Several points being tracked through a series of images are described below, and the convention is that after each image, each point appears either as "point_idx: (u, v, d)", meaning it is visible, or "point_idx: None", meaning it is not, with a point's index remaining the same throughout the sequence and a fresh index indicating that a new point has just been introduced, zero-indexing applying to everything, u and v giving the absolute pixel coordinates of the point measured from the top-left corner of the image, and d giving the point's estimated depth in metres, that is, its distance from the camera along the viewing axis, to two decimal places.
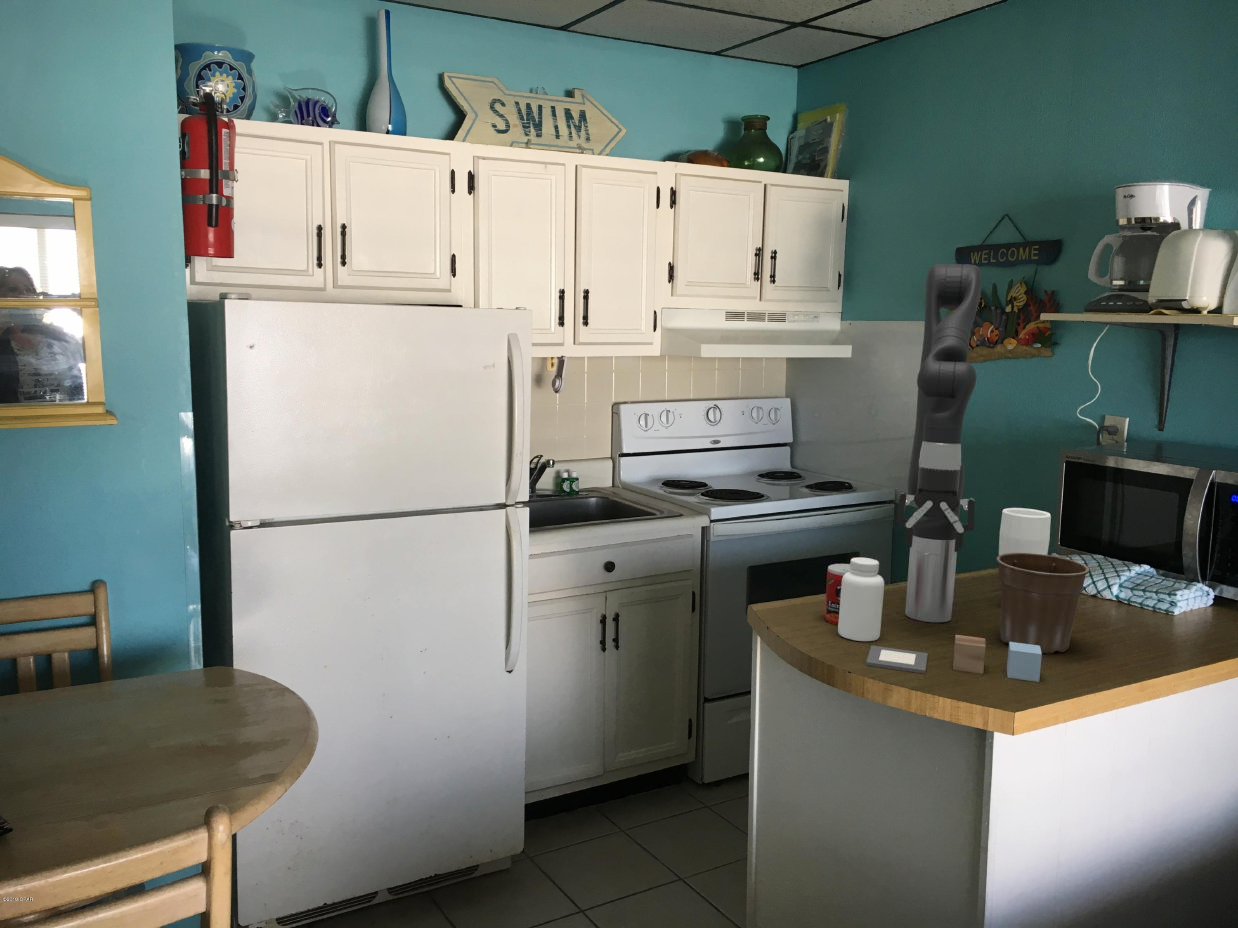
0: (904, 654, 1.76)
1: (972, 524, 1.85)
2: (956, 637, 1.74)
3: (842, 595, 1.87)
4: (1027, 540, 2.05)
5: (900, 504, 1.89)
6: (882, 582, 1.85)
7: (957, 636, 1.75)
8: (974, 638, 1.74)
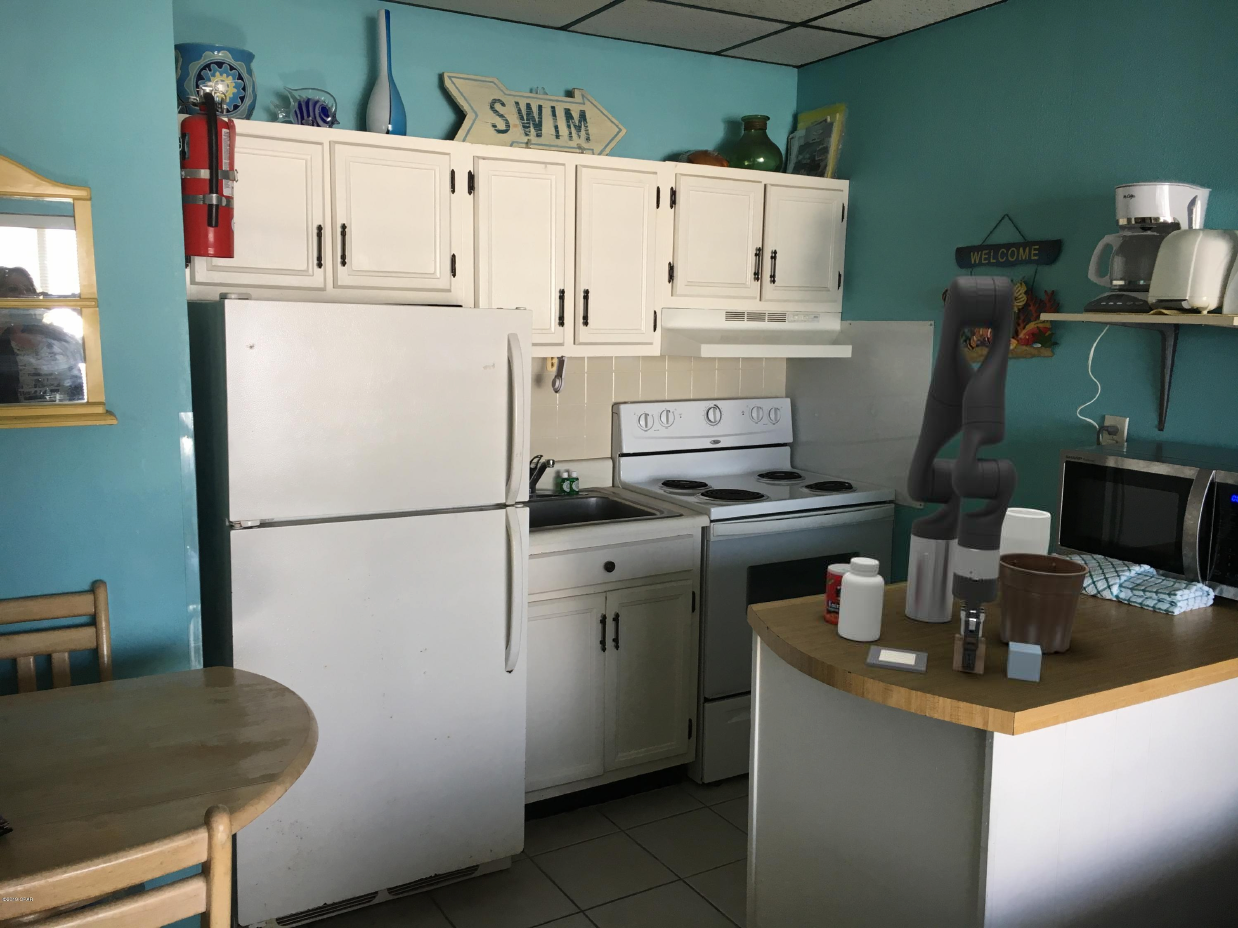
0: (904, 654, 1.76)
1: None
2: (956, 636, 1.74)
3: (842, 595, 1.87)
4: (1027, 540, 2.05)
5: (979, 631, 1.66)
6: (882, 582, 1.85)
7: (957, 635, 1.75)
8: None
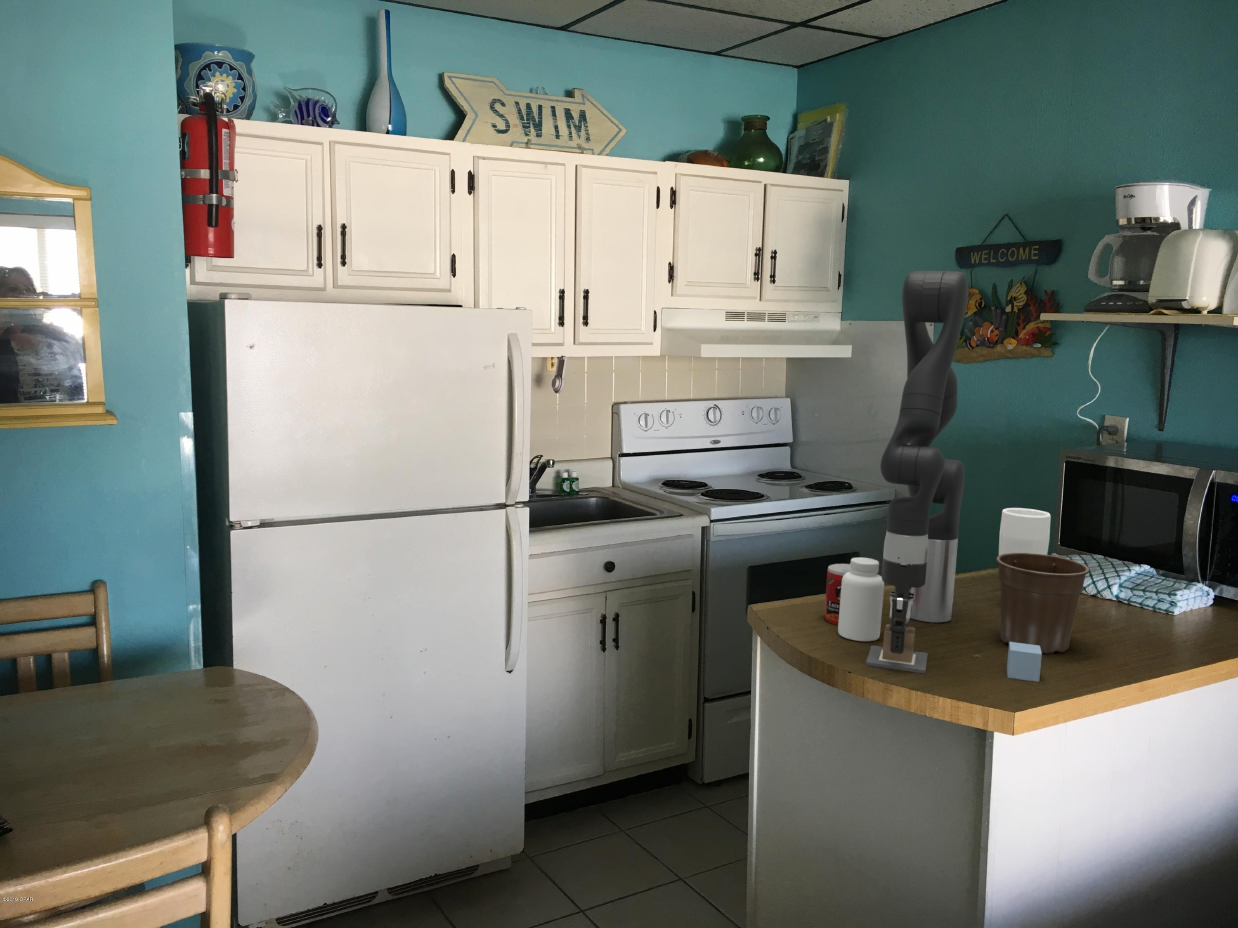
0: None
1: None
2: (886, 626, 1.76)
3: (842, 595, 1.87)
4: (1027, 540, 2.05)
5: (906, 611, 1.67)
6: (882, 582, 1.85)
7: (888, 625, 1.77)
8: None
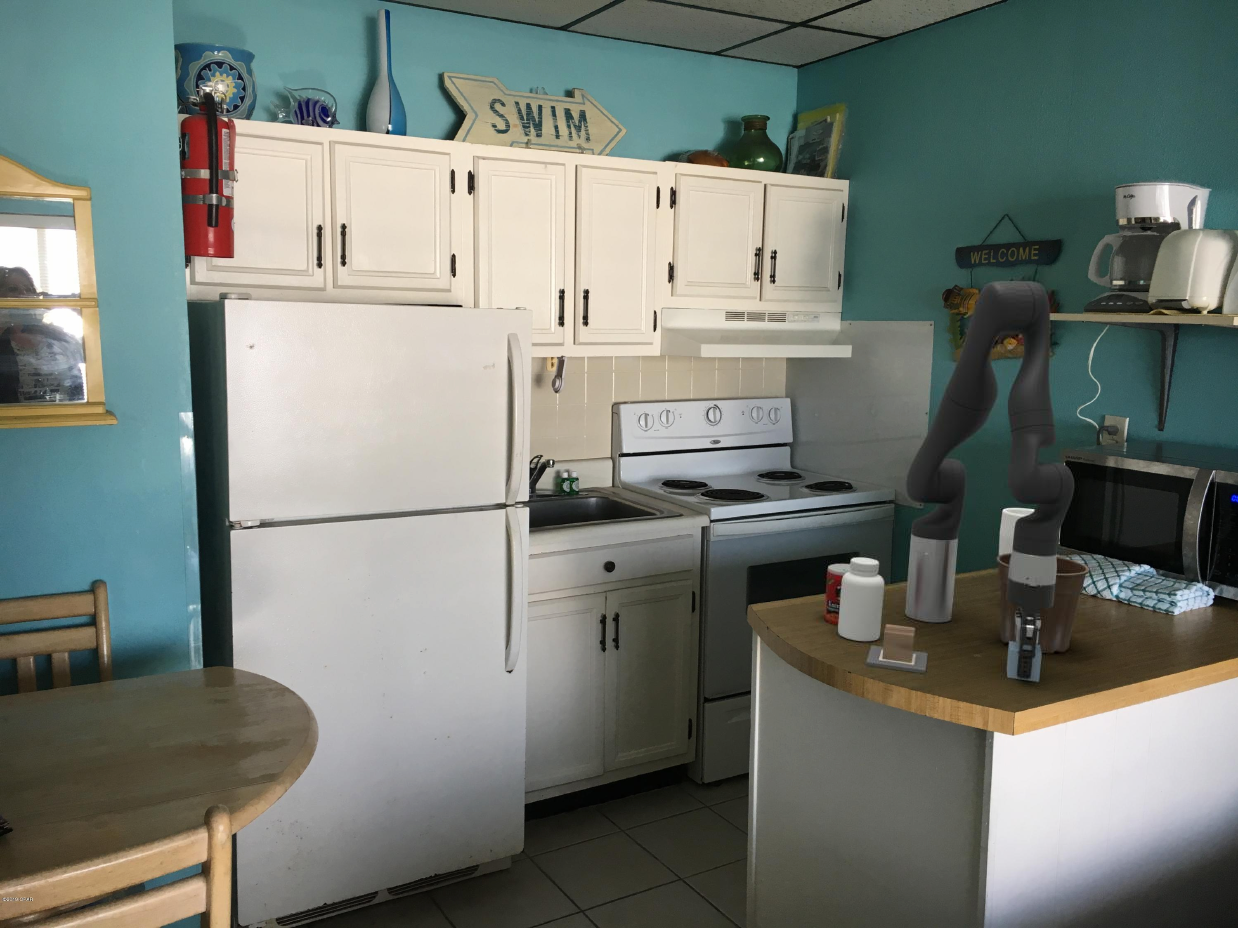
0: None
1: None
2: (886, 626, 1.76)
3: (842, 595, 1.87)
4: None
5: (1036, 638, 1.63)
6: (882, 582, 1.85)
7: (888, 625, 1.77)
8: (904, 627, 1.76)
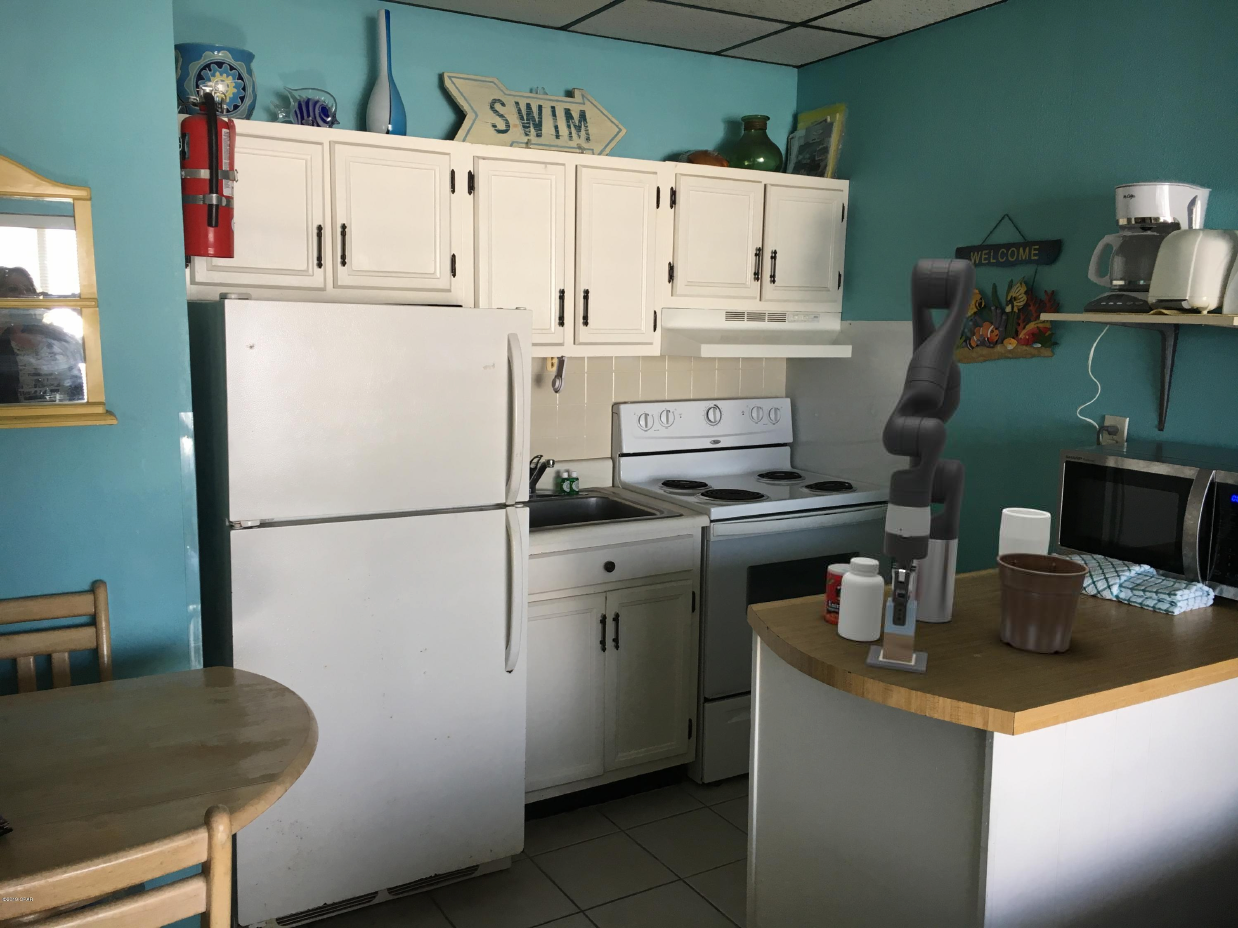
0: None
1: None
2: None
3: (842, 595, 1.87)
4: (1027, 540, 2.05)
5: (908, 582, 1.66)
6: (882, 582, 1.85)
7: None
8: None
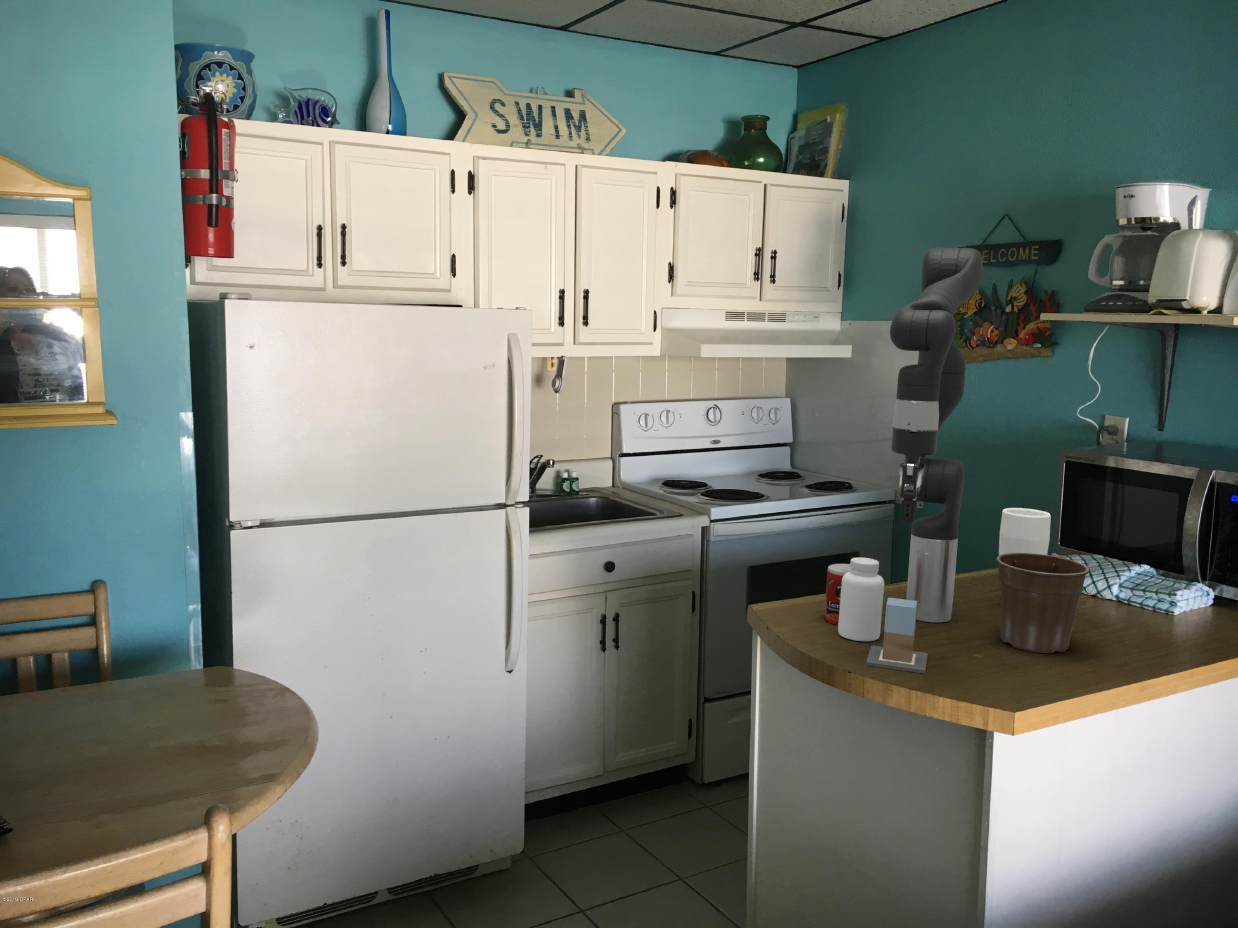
0: None
1: None
2: None
3: (842, 595, 1.87)
4: (1027, 540, 2.05)
5: (917, 477, 1.64)
6: (882, 582, 1.85)
7: None
8: None
